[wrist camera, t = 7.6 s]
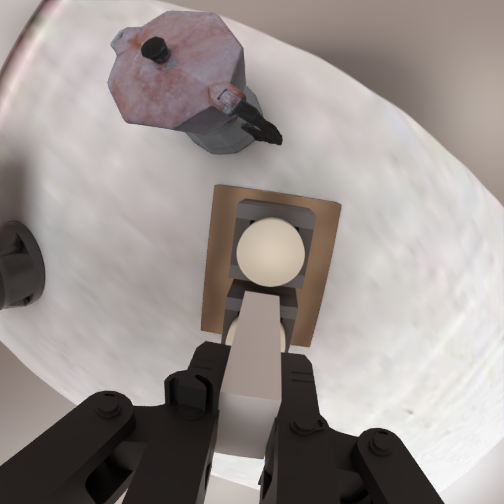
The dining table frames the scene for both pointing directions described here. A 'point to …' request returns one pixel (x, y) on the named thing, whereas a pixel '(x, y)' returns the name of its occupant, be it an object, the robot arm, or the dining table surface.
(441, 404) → the dining table surface
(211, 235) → the mount
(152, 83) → the moka pot
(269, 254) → the plunger near
